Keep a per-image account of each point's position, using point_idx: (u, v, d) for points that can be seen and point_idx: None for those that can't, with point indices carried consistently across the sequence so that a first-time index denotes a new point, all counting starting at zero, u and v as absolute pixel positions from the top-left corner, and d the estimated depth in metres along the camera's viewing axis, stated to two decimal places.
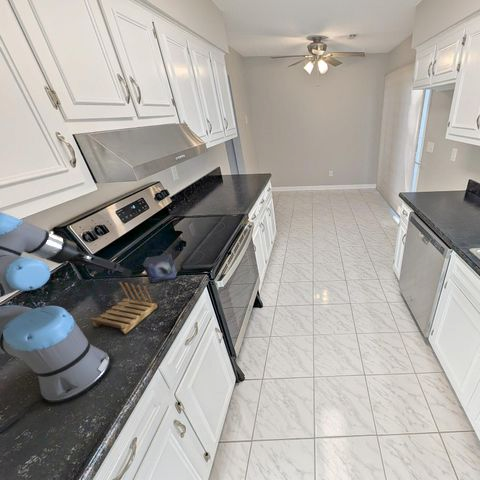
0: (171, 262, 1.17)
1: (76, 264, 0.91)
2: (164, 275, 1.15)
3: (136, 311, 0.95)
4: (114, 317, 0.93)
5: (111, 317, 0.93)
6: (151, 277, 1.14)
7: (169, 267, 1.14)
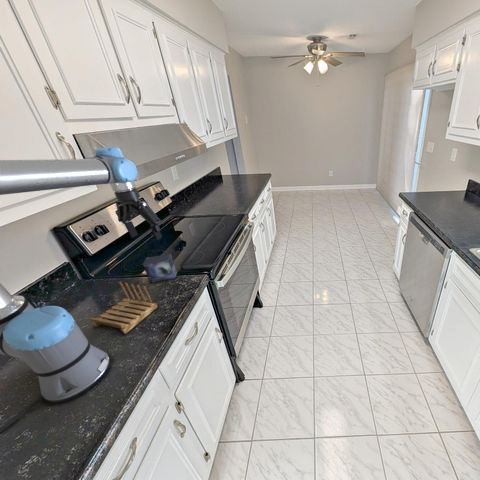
0: (171, 262, 1.17)
1: (120, 220, 1.06)
2: (164, 275, 1.15)
3: (136, 311, 0.95)
4: (114, 317, 0.93)
5: (111, 317, 0.93)
6: (151, 277, 1.14)
7: (169, 267, 1.14)
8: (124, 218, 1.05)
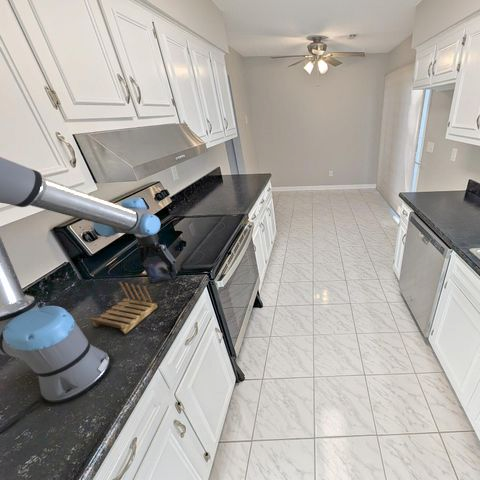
0: None
1: (141, 260, 1.16)
2: (164, 275, 1.15)
3: (136, 311, 0.95)
4: (114, 317, 0.93)
5: (111, 317, 0.93)
6: (151, 277, 1.14)
7: None
8: (144, 258, 1.14)
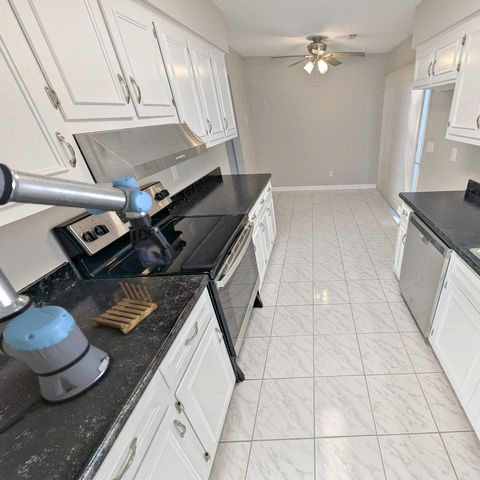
0: None
1: (133, 244, 1.12)
2: (157, 260, 1.11)
3: (136, 311, 0.95)
4: (114, 317, 0.93)
5: (111, 317, 0.93)
6: (143, 261, 1.10)
7: None
8: (137, 242, 1.10)
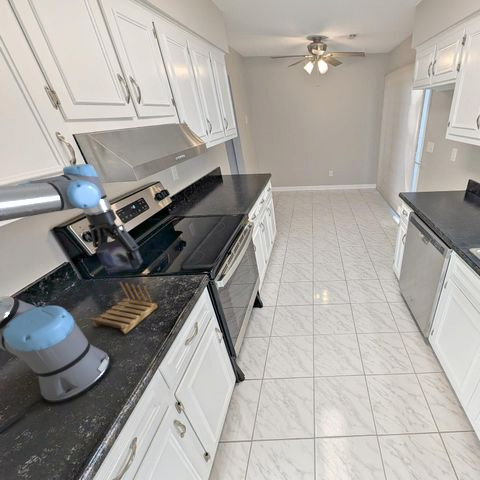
0: None
1: (96, 245, 0.94)
2: (124, 264, 0.93)
3: (136, 311, 0.95)
4: (114, 317, 0.93)
5: (111, 317, 0.93)
6: (106, 266, 0.92)
7: None
8: (99, 243, 0.93)
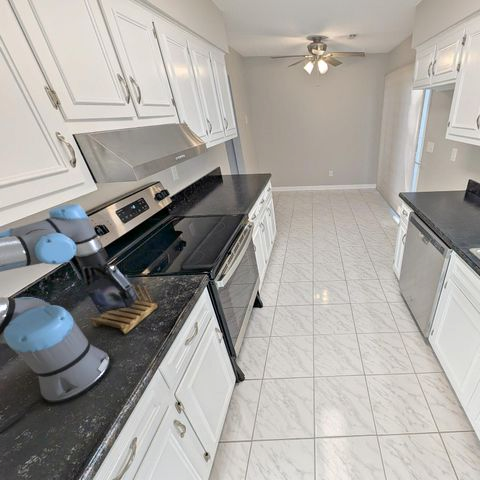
0: None
1: (88, 283, 0.90)
2: (117, 303, 0.90)
3: (136, 311, 0.95)
4: (114, 317, 0.93)
5: (111, 317, 0.93)
6: (99, 305, 0.89)
7: None
8: (91, 281, 0.89)
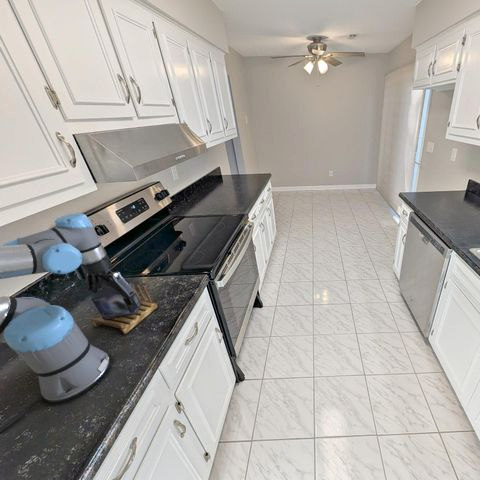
0: None
1: (90, 289, 0.92)
2: (121, 311, 0.92)
3: None
4: None
5: None
6: (104, 313, 0.90)
7: None
8: (94, 287, 0.91)
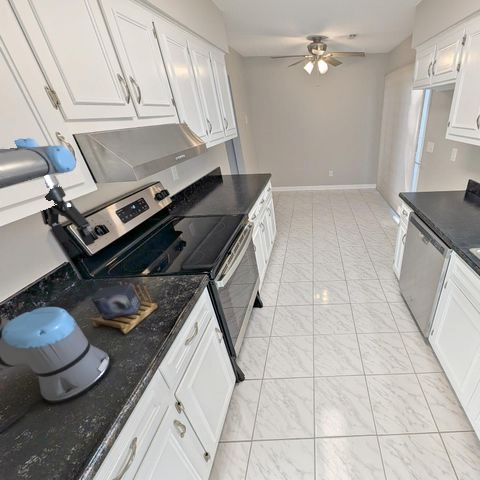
0: (131, 294, 0.93)
1: (46, 223, 0.93)
2: (121, 311, 0.92)
3: None
4: None
5: None
6: (104, 313, 0.90)
7: (127, 301, 0.91)
8: (49, 220, 0.92)
